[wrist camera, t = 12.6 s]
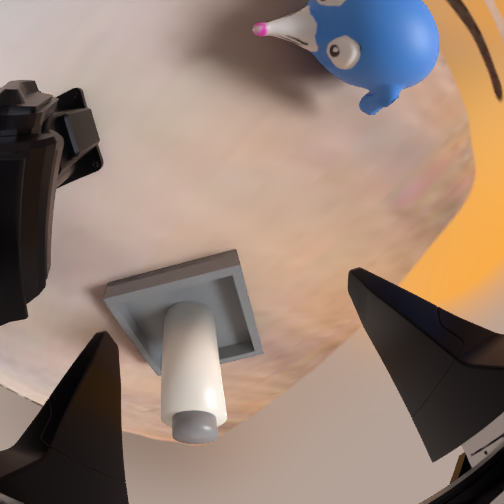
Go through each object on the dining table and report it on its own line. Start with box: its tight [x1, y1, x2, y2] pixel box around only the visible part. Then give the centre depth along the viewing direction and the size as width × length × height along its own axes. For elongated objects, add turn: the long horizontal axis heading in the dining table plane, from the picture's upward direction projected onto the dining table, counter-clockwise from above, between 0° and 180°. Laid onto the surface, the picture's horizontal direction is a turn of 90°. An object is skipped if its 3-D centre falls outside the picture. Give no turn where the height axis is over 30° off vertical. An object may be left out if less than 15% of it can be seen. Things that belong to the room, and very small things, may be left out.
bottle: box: [161, 301, 227, 444], centre depth 21 cm, size 5×5×12 cm
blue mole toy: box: [252, 0, 439, 115], centre depth 12 cm, size 12×12×8 cm
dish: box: [103, 250, 264, 376], centre depth 26 cm, size 12×12×2 cm
